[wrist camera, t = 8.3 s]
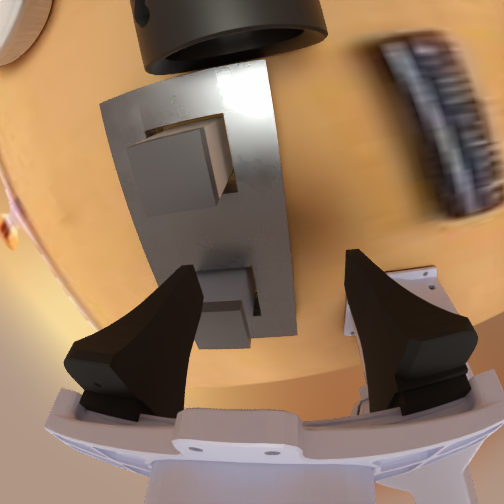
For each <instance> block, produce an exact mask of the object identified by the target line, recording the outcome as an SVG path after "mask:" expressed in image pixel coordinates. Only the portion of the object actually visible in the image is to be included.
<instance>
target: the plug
mask: <svg viewBox="0 0 504 504" xmlns="http://www.w3.org/2000/svg"><path fill="white" fill-rule="evenodd" d="M126 151H127V154H128V158H129V161H130V165H131V168H132V172H133V175H134V179H135V182H136V185H137V189H138V192H139V195H140V198H141V201H142V204H143V207H144V210H145V213H146V216H147V217H153V216H159V215H165V214H171V213H177V212H184V211H190V210H197V209H204V208H211V207H216V206H217V204H218V201H219V199H220V197H221V195H222V193H223V190H224V188H225V186H226V184H227V182H228V180H229V177H230V175H231V173H232V171H233V163H232V158H231V153H230V148H229V142H228V137H227V132H226V127H225V121H224V116H222V117H217V118H212V119H207V120H202V121H197V122H193V123H188V124H184V125H180V126H176V127H172V128H169V129H166V130H164V131H162V132H160V133H157V134H155V135H153V136H151V137H149V138H147V139H144V140H142V141H140V142H138V143H136V144H134V145H132V146H130V147H128V148H126Z"/></svg>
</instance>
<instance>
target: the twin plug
mask: <svg viewBox="0 0 504 504" xmlns="http://www.w3.org/2000/svg"><path fill="white" fill-rule="evenodd" d="M197 277H198V281H199V284H200V286H201V289H202V292H203V295H204V299H203V307H202V313H201V317H200V321H199V324H198V328H197V331H196V335H195V338H194V340H195V342H196V344H197V346H198V348H199V349H244V348H250V345H251V334H252V323H253V311H254V300H255V283H254V278H253V272H252V267H251V266H250V267H239V268H227V269H215V270H203V271H197Z"/></svg>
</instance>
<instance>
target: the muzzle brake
mask: <svg viewBox="0 0 504 504" xmlns="http://www.w3.org/2000/svg"><path fill="white" fill-rule="evenodd" d="M130 3H131V8H132V13H133V18H134V23H135V28H136V33H137V37H138V42H139V46H140V51H141V55H142V60H143V64H144V68H145V71H146V72H147V73H150V74H154V75H167V74H175V73H182V72H188V71H194V70H199V69H205V68H210V67H215V66H220V65H225V64H230V63H235V62H239V61H244V60H249V59H255V58H260V57H265V56H270V55H275V54H279V53H284V52H288V51H293V50H297V49H301V48H305V47H308V46H312V45H314V44H317V43H320V42H321V41H323V40H324V39H325V38H326V37H327V35H328V32H327V28H326V24H325V20H324V16H323V12H322V9H321V5H320V1H319V0H130Z"/></svg>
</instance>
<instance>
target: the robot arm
mask: <svg viewBox="0 0 504 504" xmlns="http://www.w3.org/2000/svg"><path fill="white" fill-rule="evenodd" d="M437 272H438V270H437V268H436V267H426V268H419V269H412V270H404V271H396V272H388V273H385V272H383V271H382V270H381V269H380V268H379V267H378V266H377V265H375V264H374V263H373V262H372V261H371V260H370V259H369V258H368V257H367V256H366V255H365V254H364V253H363V252H361V251H360V250H359V249H352V250H346V263H345V283H344V286H345V291H346V296H347V302H346V313H345V323H344V335H345V336H356V340H357V344H358V348H359V352H360V357H361V361H362V366H363V370H364V375H365V380H366V385H365V386H363V387H361V388H360V395H361V400H360V401H358V402H357V403H355V405H354V406H353V409H352V412H351V416H349V417H342V418H334V419H326V420H316V421H304V422H302V420H301V419H300V418H299V417H298V416H297V415H296V414H294V413H291V412H288V411H285V410H273V409H211V408H186V409H184V397H185V386H186V377H187V369H188V363H189V357H190V353H191V349H192V345H193V342H194V338H195V335H196V331H197V328H198V324H199V321H200V317H201V313H202V307H203V299H204V295H203V292H202V289H201V286H200V284H199V281H198V277H197V274H196V271H195V268H194V265H193V264H192V265H182V266H180V267H179V268H178V269H177V270H176V271H175V272H174V273H173V274H172V275H171V276H170V277H169V278H168V279H167V280H166V281H165V282H164V283H162V284H161V285H160V286H159V287H158V288H157V289H156V290H155V291H154V292H153V293H152V294H151V295H150V296H149V297H148V298H146V299H145V300H144V301H143V302H142V303H141V304H140V305H138V306H137V307H136V308H134V309H133V310H132V311H130V312H129V313H128V314H126V315H125V316H123V317H122V318H120V319H119V320H117V321H116V322H114V323H113V324H111V325H109V326H108V327H106V328H104V329H102V330H100V331H98V332H96V333H94V334H92V335H90V336H87V337H85V338H83V339H81V340H78V341H75V342H74V343H73V345H72V347H71V349H70V351H69V353H68V354H67V356H66V358H65V360H64V366H65V368H66V370H67V372H68V373H69V374H70V375H71V377H72V378H73V379H75V381H76V382H77V383H78V384H79V385H80V386H81V387H82V388H83V389H84V392H83V395H81V394H79V393H77V392H75V391H71V390H68V389H65V388H61V389H60V392H59V394H58V396H57V398H56V400H55V402H54V405H53V407H52V409H51V411H50V414H49V416H48V418H47V421H46V423H45V426H44V429H45V430H47V431H48V432H49V433H51V434H52V435H54V436H55V437H56V438H58V439H60V440H61V441H63V442H64V443H65V444H67V445H68V446H70V447H71V448H73V449H74V450H76V451H79V452H81V453H84V454H86V455H88V456H91V457H93V458H96V459H99V460H101V461H104V462H106V463H109V464H111V465H114V466H117V467H120V468H123V469H126V470H128V471H132V472H135V473H138V474H141V475H144V476H148V477H150V478H149V482H148V487H147V491H146V496H145V501H144V504H376V500H375V487H374V482H377V483H378V484H381V485H384V486H388V487H391V488H395V489H400V490H404V491H407V492H410V493H412V495H413V498H414V501H415V504H478V502H477V497H476V494H475V489H474V486H473V482H472V478H471V475H470V471H469V467H468V464H469V462H470V461H471V459H472V458H473V456H474V455H475V453H476V452H477V451H478V449H479V448H480V446H481V444H482V443H483V441H484V440H485V439H486V438H487V437H488V436H490V435H491V434H492V433H493V432H495V431H496V430H497V429H498V428H500V427H501V426H502V425H503V424H504V392H503V389H502V387H501V384H500V382H499V379H498V377H497V375H496V373H495V370H494V369H490V370H487V371H485V372H483V373H480V374H477V375H475V376H474V375H473V373H472V371H471V369H470V367H469V364H468V363H467V360H468V359H469V357H470V356H471V354H472V352H473V351H474V349H475V347H476V345H477V341H478V336H477V333H476V331H475V330H474V328H473V326H472V324H471V322H470V321H469V319H468V318H467V317H464V316H461V315H459V314H458V312H457V310H456V308H455V307H454V305H453V303H452V302H451V300H450V298H449V297H448V295H447V293H446V292H445V290H444V288H443V287H442V285H441V284H440V282H439V281H438V279H437V277H436V276H437Z"/></svg>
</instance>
